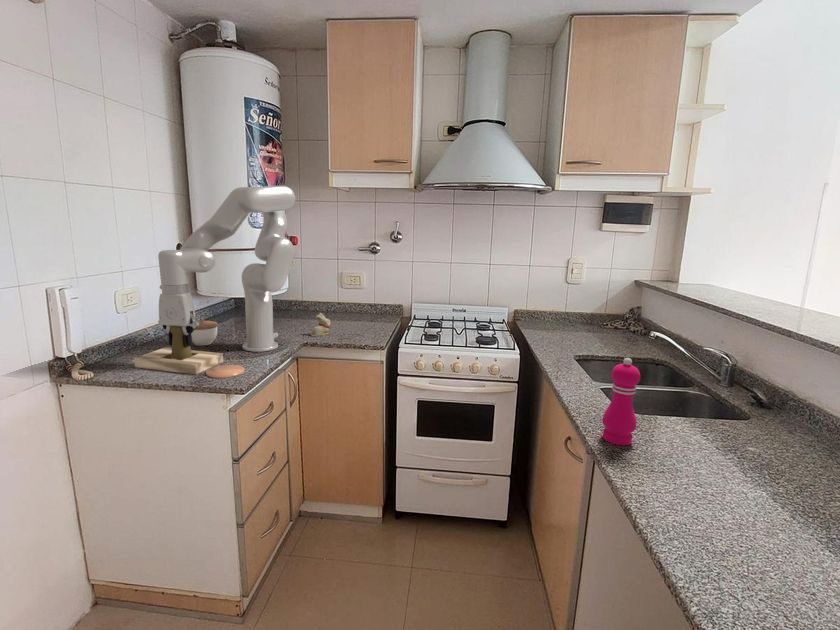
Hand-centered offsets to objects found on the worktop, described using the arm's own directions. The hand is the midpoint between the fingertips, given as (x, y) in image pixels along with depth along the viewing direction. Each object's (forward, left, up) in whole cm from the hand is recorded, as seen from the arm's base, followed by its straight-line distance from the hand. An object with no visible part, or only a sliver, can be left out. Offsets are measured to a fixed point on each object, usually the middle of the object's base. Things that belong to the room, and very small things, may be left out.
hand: (180, 344), depth 141 cm
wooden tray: (+1, 0, -7) cm, 7 cm away
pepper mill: (+16, +130, -7) cm, 131 cm away
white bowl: (-23, -10, -7) cm, 26 cm away
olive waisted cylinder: (0, 0, -4) cm, 4 cm away
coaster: (+3, +18, -7) cm, 19 cm away
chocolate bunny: (-50, +26, -7) cm, 57 cm away
